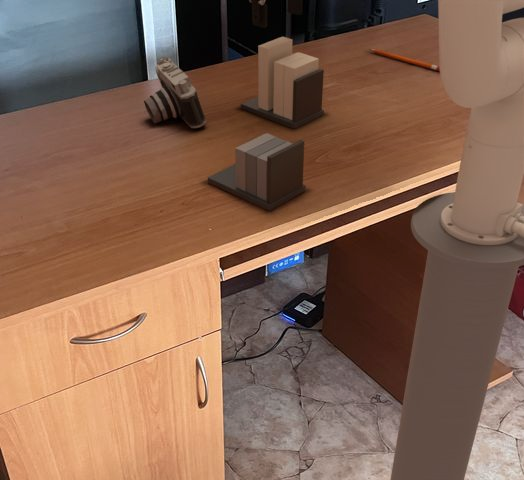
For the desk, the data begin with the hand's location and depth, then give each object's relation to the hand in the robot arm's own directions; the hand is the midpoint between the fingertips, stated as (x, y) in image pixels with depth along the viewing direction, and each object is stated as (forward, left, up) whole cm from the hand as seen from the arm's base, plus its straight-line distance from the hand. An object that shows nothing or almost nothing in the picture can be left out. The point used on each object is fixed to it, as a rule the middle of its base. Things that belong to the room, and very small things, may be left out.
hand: (277, 19), depth 145 cm
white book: (0, 0, -16) cm, 16 cm away
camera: (+13, +17, -18) cm, 27 cm away
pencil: (-3, -39, -17) cm, 43 cm away
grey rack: (-18, +26, -17) cm, 36 cm away
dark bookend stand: (-1, 0, -17) cm, 17 cm away
